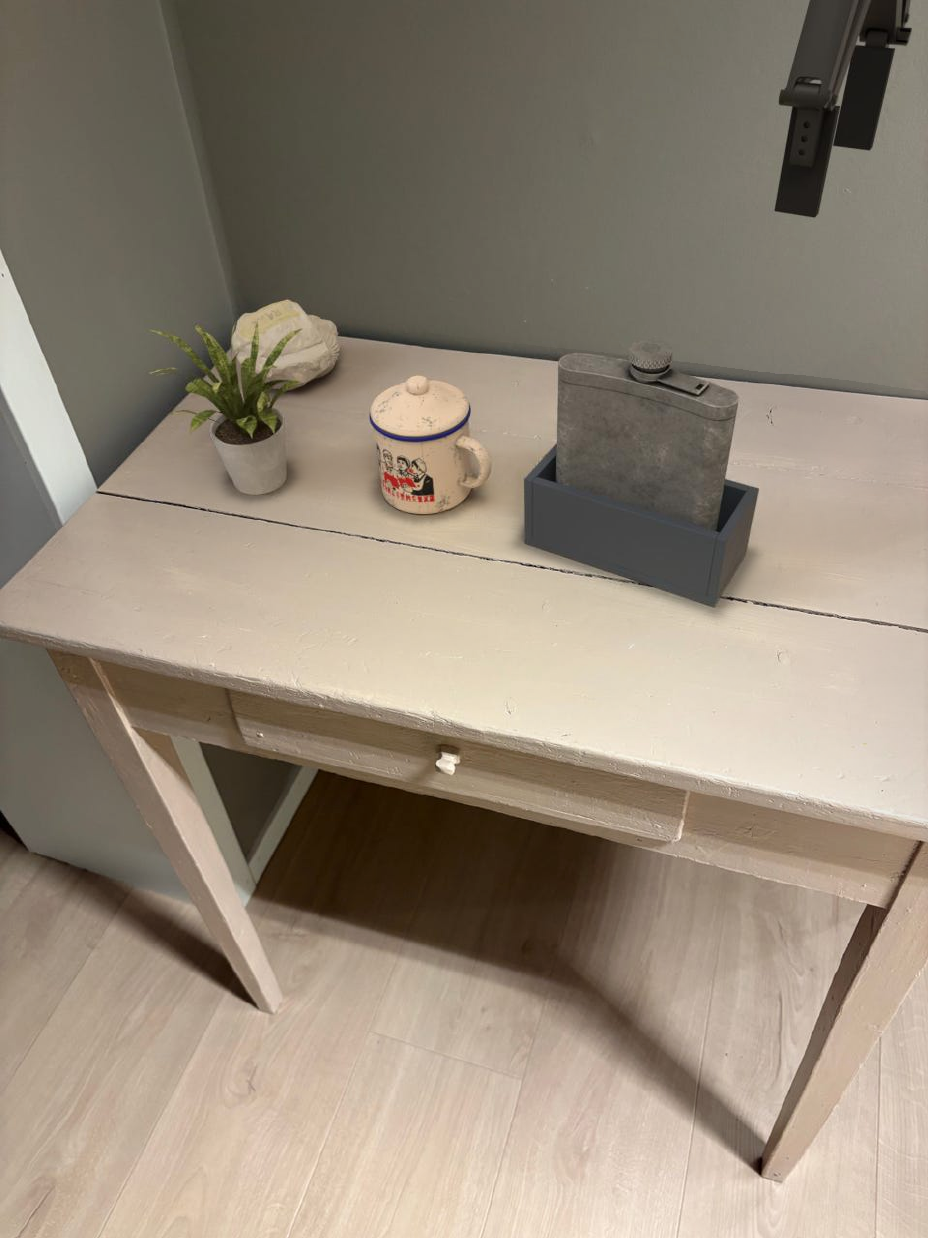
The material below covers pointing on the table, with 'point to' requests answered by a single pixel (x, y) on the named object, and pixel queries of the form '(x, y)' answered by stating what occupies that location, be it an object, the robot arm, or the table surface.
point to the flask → (644, 433)
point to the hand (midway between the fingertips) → (825, 178)
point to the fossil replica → (301, 354)
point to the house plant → (242, 414)
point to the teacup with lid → (425, 446)
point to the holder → (639, 535)
